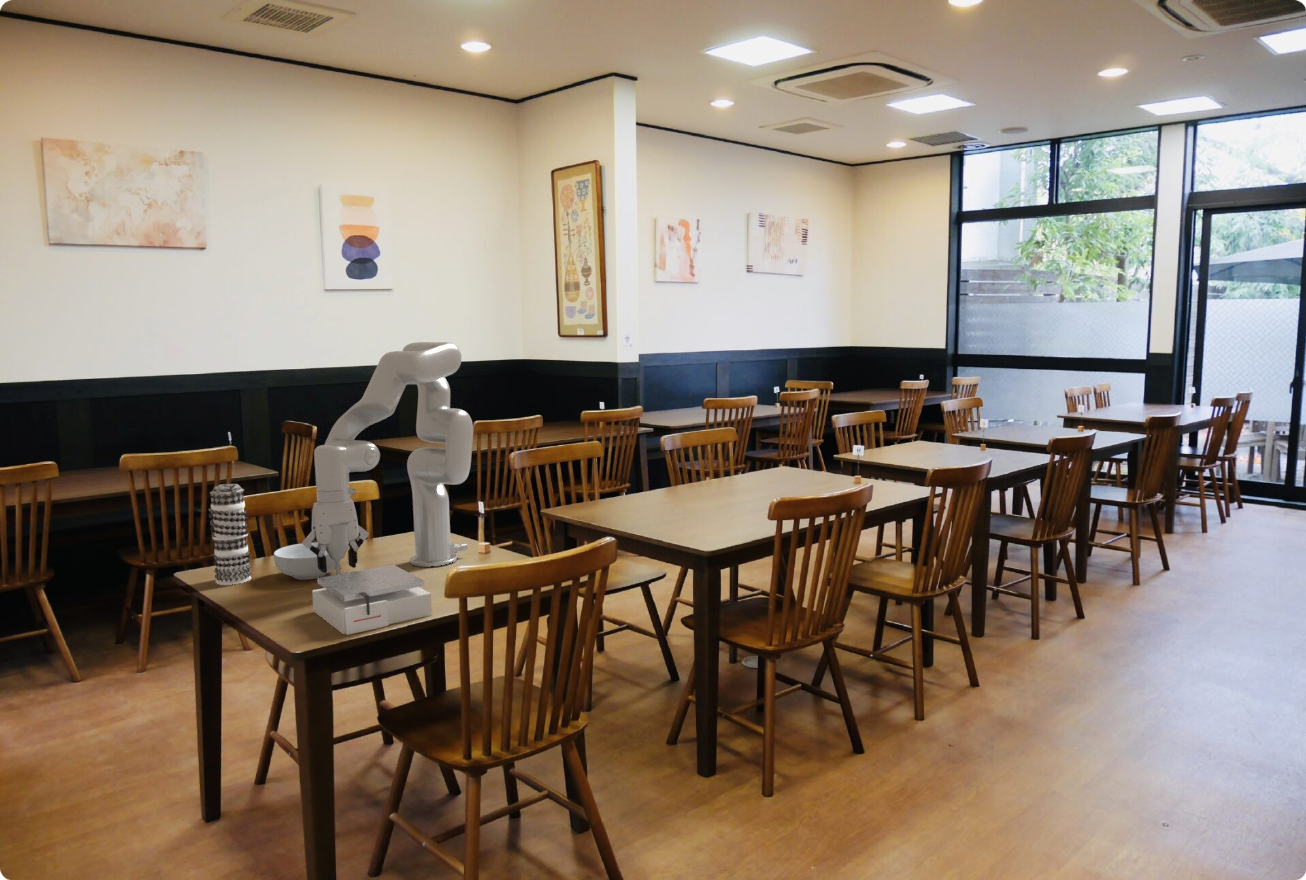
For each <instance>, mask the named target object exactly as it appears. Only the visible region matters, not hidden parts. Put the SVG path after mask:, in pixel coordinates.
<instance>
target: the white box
mask: <svg viewBox="0 0 1306 880" xmlns="http://www.w3.org/2000/svg"><path fill="white" fill-rule="evenodd" d="M316 580H317V584H318V585H319V586H321V587H322V588H325V589H327V590H328V591H330V592H331V593H333V594H334V595H336V596H337V597H339V598H340V599H342V600H343V601H350V600H355V599H360V598H366V606H367V615H370V609H369V597H370V596H375V595H380V594H386V593H391V592H396V591H401V590H406V589H411V588H416V587H420V588H422V587H425V580H424V579H422V578H419V577H418V576H417V575H414V574H412V573H410V572H408V571H407V570H404V569H403V568H400V567H399V566H397V565H395V564H390V565H384V566H378V567H372V568H368V569H362V570H361V569H360V570H357V571H351V572H350V571H349V572H345V573H341V574H338V575H336V574H332V575H329V576H323V577H320V578H316Z"/></svg>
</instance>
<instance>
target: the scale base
mask: <svg viewBox="0 0 1306 880" xmlns="http://www.w3.org/2000/svg"><path fill="white" fill-rule="evenodd" d="M311 592H312V593H311V594H312V608H313V612H314V613H315V614H316V615H318V616H319V617H322V620H324V621H325V620H326V621H325V622H327V623H328V624H329V625H330V626H332V627H333V628H335V629H336V630H337V631H338V632H339V633H341V634H342V635H352V634H356V633H361V632H367V631H372V630H376V629H380V628H385V627H389V625H392V624H397V623H401V622H407V621H411V620H415V619H420V618H424V617H429V616H432V615H433V612H432V610H433V609H432V593H431V592H429V591H427V590H425V589H424V588H423V587H416V588H411V589H406V590H401V591H396V592H391V593H386V594H380V595H375V596H370V597H369V609H370V615H367V606H366V598H360V599H355V600H350V601H343V600H342V599H340V598H339V597H337V596H336V595H334V594H333V593H331V592H330V591H328V590H327V589H325V588H324V587H322V588H318V589H313V590H312V591H311Z"/></svg>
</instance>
